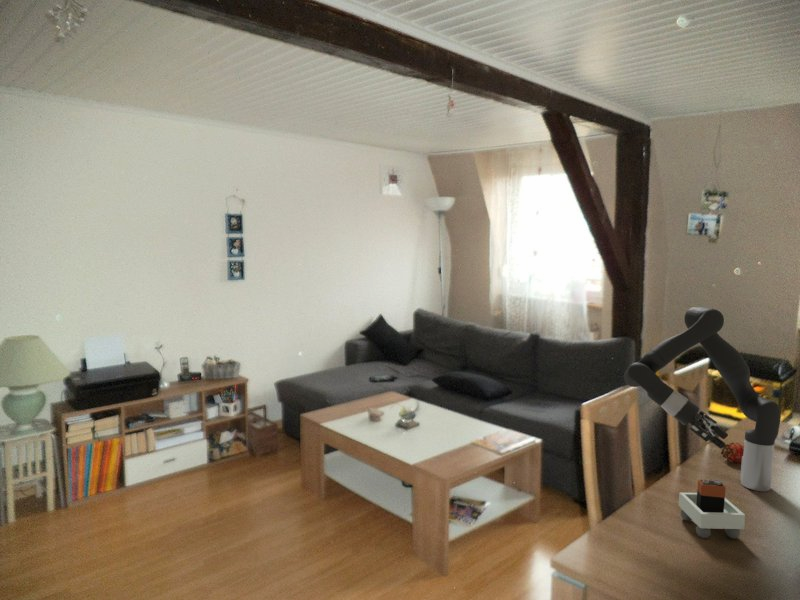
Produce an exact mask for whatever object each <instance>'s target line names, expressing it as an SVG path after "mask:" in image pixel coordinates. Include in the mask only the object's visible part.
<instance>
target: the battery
mask: <svg viewBox="0 0 800 600" xmlns="http://www.w3.org/2000/svg"><path fill="white" fill-rule="evenodd" d="M722 482H723V481H722V480H721V479H717V478H716V479H713V480H709V479H707V478H702V479H698V480H697V490H696V491H697V492H696V493H697V502H696V506H697V507H698V508H700V509H701V510H702V511H703V512H716V513H724V502H725V498H726V490H727V488H726V486H725V485H724V483H722Z"/></svg>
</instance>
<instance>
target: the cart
mask: <svg viewBox="0 0 800 600" xmlns="http://www.w3.org/2000/svg"><path fill="white" fill-rule="evenodd" d="M696 502H697V492H681V491H680V492H679V493H678V507H679V508H680V509H681V510H680V513H679V515H680V517H681V518H682V519H683V520H684V521H687V522H691V521H692V522H694V524H696V527H695V532H696V535H698V537H700V538H703V539H706V538H709V537H710V536H711V529H715V530H717V529H718V530H720V529H721V530H722V529H723V530H724V529H725V534H726V535H727V537H728V538H731V539H734V540H735V539H738V538H739V537H741V534H742V532H741V530H745V526H746V525H745V524H746V523H745V522H746V514H745V513H744V512H743V511H741V510H740V509H739V508H738V507H737V506H736V505H734V504H733V503H732V502H731V501H730V500H728V499H727V498H726V497H725V502H724V513H716V512H703V511H702V510H701V509H700V508H698V507H697V506H696Z"/></svg>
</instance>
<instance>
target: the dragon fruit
mask: <svg viewBox="0 0 800 600" xmlns="http://www.w3.org/2000/svg"><path fill="white" fill-rule="evenodd" d="M743 453H744V445H741V443H739V442H735V443H734V442H729V443H725V446H724V447H723V448H722V449H721V451H720V454H721V455H722V457H723V459H724V458H725V459H727V462H730V463H731V464H732V463H735V462H736V463H739V464H741V463H742V456H743Z"/></svg>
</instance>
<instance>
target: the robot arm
mask: <svg viewBox="0 0 800 600" xmlns="http://www.w3.org/2000/svg"><path fill="white" fill-rule="evenodd" d="M724 322H725V318H724V315H723V313H722V312H721V311H720V310H718V309H715V308H711V307H703V306H693V307H690V308H689V309H687V310H686V312H685V314H684V323H685V326H686V328H687V329H686V330H684V331H683V332H680V333H678V334H676V335H673V336H671V337H669V338H666V339H664V340H662V341H661V342H659V343H657V344H656V345H655V346H653V348H651V349H650V350H648V351H647V352H646V353H645V354H644V355H643V357H642V358H641V359H640V360H638V361H637V362H633V363H631V364H630V365H629V366H628V367H627V369H626V370H624V371H625V372H624V373H623V374H624V375H623V379H624V381H625V384H626V385H628V386H630V387H632V388H640V387H641V388H642V389H643V390H645V391H646V393H647V397H648V398H649V399H650V400H651V401H654V402H655V404H657V405H658V406H659V407H661V408H662V409H663V410H664V411H665V412H666V413H667V414H669V416H671V417H672V418H674V419H675V420H677V421H678V422H679V423H681V425H683V426H686V425H687V424H690V425H691V427H690V428H689V429H690V430H691V431H692V432H693V433H694V434H696V435H697V436H698V437H700V438H701V439H702V440H703V441H704V442H706V443H707V442H710V443H713V444H714V445H715V446H716V447H717V448H719V449H721V450H722V449H723V447H724V446H725V444H726V442H724V441H723V440H725V439H726V438H727V437H728V436H729V434H728V433H727V432H726V431H725V430H724V429H722V428H721V427H719V425H718V422H717V421H716V420H715V419H713V418H712V417H710V416H709V415H708V414H706V413H705V412H703V411H702V410H700V407H699V406H697V404H695V403H693V402H692V401H691V400H690V399H689V398H688V397H686V396H685V395H683V394H682V393H679V392H678V391H676V390H674V389H673V388H672V387H671V386H669V385H668V384H667V383H666V382H663V380H662V379H661V378H660V377H659V376H658V375H657V374H656V373H658V372H659V371H660V370H661V369H663V368H665V367H666V366H667V365H668V364H670V363H671V362H672V361H674V360H675V359H676V358H678V357H679V356H680V355H681V354H683V353H684V352H686V351H688V350H689V349H691V348H693V347H694V346H696V345H698V344H700V345H701V346H702V348H703V350H704V352H705V353H706V354H707V356H708V357H709V358H710V360H711V362H712V364H713V366H714V367H715V369H716V370H717V371H718V373H719V374H720V376H721V377H722V379H723V381H724V382H725V383H726V385H727V386H728V389H730V391H731V392H732V394H733V396H734V398H735V400H736V402H737V403H738V407H739V409H740V410H741V412H742V414H743V415H744V416H745V417H746V418H747V419H749V420H750V421H753V422H755V426H754V429H748V430H746V431H745V432H744V440H743V441H744V443H743V446H744V453H743V456H742V463H740V477H739V481H740V484H741V485H742V486H743V487H745V488H747V489H750V490H751V491H752V490H753V491H756V492H769V491H770V490H771V486H772V476H773V466H774V465H773V464H774V454H775V444H776V439H777V438H778V435H779V430H780V424H781V418H782V411H781V407H780V404H778V403H777V402H776V401H773V400H771V399H768V398H765V397H763V396H761V395H759V394H758V392H757V391H756V390H755V388H754V387H753V386H752V384H751V370H750V367H749V365H748V363H747V362H746V360H745V359H744V357H743V356H742V354H741V353H740V352H739V351H738V350H737V349H736V348H735V347H734V346H733V345H732V344H730V343H729V342H728V341H726V339H724V338H723V337H722V336H721V335H720V334H719V333H718V332H720V331H721V330H722V329H723V326H724V324H725V323H724ZM715 434H716V435H715ZM722 439H723V440H722Z"/></svg>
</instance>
